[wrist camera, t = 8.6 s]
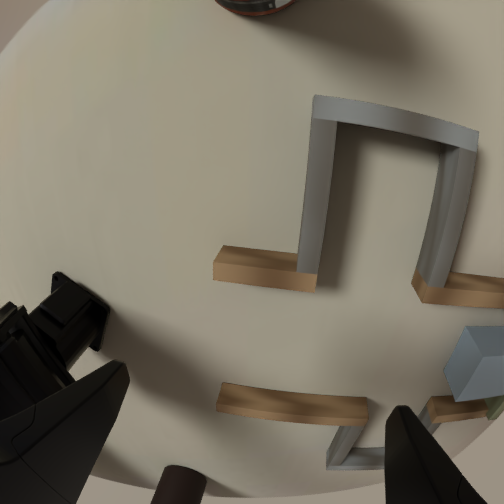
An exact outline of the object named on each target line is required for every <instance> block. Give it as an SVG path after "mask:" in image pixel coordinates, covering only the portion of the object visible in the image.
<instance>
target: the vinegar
mask: <svg viewBox="0 0 504 504" xmlns="http://www.w3.org/2000/svg"><path fill="white" fill-rule="evenodd" d="M206 483H207V480H206V478H205V477H204V476H203V475H201V474H200V473H198V472H196V471H194V470H191V469H188V468H185V467H181V466H175V465H170V466H167V467H165V468H164V471H163V473H162V476H161V479H160V481H159V484H158V486H157V489H156V491H155V494H154V496H153V499H152V501H151V504H200V503H201V500H202V496H203V493H204V490H205V486H206Z"/></svg>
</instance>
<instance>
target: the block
mask: <svg viewBox="0 0 504 504" xmlns="http://www.w3.org/2000/svg"><path fill="white" fill-rule="evenodd" d="M444 373H445V376H446V378H447V381H448V383H449V386H450V389H451V391H452V394H453V397H454V399H455V402H460V401H468V400H475V399H482V398H489V397H495V396H501V395H504V326H465V328H464V330H463V333H462V335H461V337H460V339H459V341H458V343H457V345H456V347H455V349H454V351H453V353H452V355H451V357H450V359H449V361H448V363H447V365H446V367H445V369H444Z"/></svg>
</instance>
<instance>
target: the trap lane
mask: <svg viewBox="0 0 504 504" xmlns="http://www.w3.org/2000/svg"><path fill="white" fill-rule="evenodd" d="M337 122H341V123H348V124H354V125H360V126H366V127H372V128H377V129H383V130H388V131H393V132H398V133H402V134H407V135H411V136H416V137H420V138H424V139H428V140H432V141H436V142H440V143H442V145H441V153H440V160H439V166H438V173H437V179H436V184H435V190H434V195H433V200H432V205H431V210H430V215H429V219H428V223H427V228H426V232H425V236H424V240H423V244H422V248H421V251H420V255H419V259H418V262H417V266H416V269H415V273H414V276H413V279H412V283H411V284H412V286H413V287H414V289H415V291H416V293H417V295H418V297H419V298H420V300H421V302H422V303H428V304H441V305H455V306H470V307H486V308H504V278H496V277H488V276H480V275H472V274H463V273H455V272H449V271H450V268H451V264H452V261H453V258H454V255H455V251H456V248H457V244H458V241H459V237H460V233H461V230H462V226H463V222H464V218H465V213H466V209H467V205H468V200H469V195H470V190H471V185H472V179H473V174H474V168H475V161H476V154H477V147H478V138H479V131H476V130H473V129H470V128H467V127H464V126H461V125H458V124H454V123H451V122H448V121H444V120H441V119H438V118H434V117H430V116H427V115H423V114H419V113H415V112H411V111H406V110H402V109H398V108H393V107H388V106H384V105H379V104H373V103H368V102H362V101H356V100H350V99H344V98H337V97H330V96H322V95H314V97H313V104H312V117H311V130H310V142H309V153H308V164H307V174H306V184H305V194H304V203H303V212H302V221H301V230H300V238H299V246H298V254H294V253H286V252H277V251H268V250H260V249H251V248H242V247H233V246H225V245H223V247H222V248H221V250H220V252H219V253H218V255H217V257H216V258H215V260H214V261H213V280H217V281H224V282H231V283H239V284H247V285H254V286H262V287H270V288H279V289H287V290H295V291H304V292H313V293H314V292H315V286H316V280H317V274H318V269H319V263H320V256H321V250H322V244H323V237H324V230H325V224H326V216H327V209H328V202H329V194H330V186H331V178H332V169H333V160H334V150H335V140H336V129H337ZM216 410H217V411H218V412H223V413H229V414H235V415H241V416H247V417H253V418H260V419H268V420H276V421H284V422H294V423H305V424H319V425H337V426H340V427H339V429H338V431H337V433H336V435H335V437H334V439H333V441H332V443H331V445H330V447H329V449H328V451H327V457H326V470H378V469H384V455H385V448H352V446H353V445H354V443H355V441H356V440H357V438H358V436H359V435H360V433H361V431H362V430H363V428H364V426H365V425H366V423H367V421H368V419H369V416H368V408H367V400H366V397H343V396H327V395H314V394H303V393H293V392H284V391H276V390H268V389H261V388H254V387H247V386H241V385H235V384H229V383H222V387H221V390H220V393H219V396H218V399H217V402H216ZM503 410H504V395H501V396H495V397H489V398H482V399H475V400H468V401H460V402H455V399H454V397H453V395H452V396H437V397H431V398H430V400H429V401H428V403H427V404H426V406H425V407H424V409H423V410H422V412H421V413H420V415H419V416H418V419H419V420H420V421H421V422H422V424H423V425H424V426H425V427H426V429H427V430H428V431H429V432H430V434H431V435H432V434H433V433H434V432H435V430H436V429H437V428H438V427H439V425H440V424H441V423H443V422H452V421H460V420H467V419H474V418H480V417H486V416H487V418H488V420H494V419H497V418H498V416H499V415H500V414H501V413H502V411H503Z"/></svg>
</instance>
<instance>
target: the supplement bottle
mask: <svg viewBox="0 0 504 504" xmlns="http://www.w3.org/2000/svg"><path fill="white" fill-rule="evenodd" d="M215 1H216V2H217V3H218V4H219V5H221V6H222V7H223V8H225V9H227V10H229V11H231V12H234V13H238V14H243V15H253V16H256V15H266V14H271V13H274V12H277V11H279V10H282V9H284V8H286V7H287V6H289V5H291V4H292V3H294V2H295V1H296V0H215Z"/></svg>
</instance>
